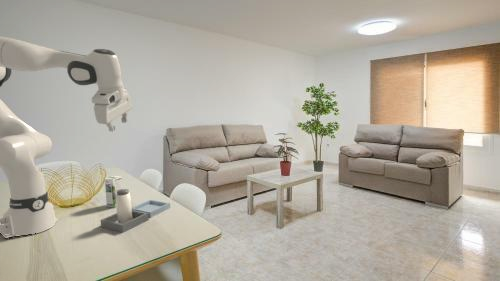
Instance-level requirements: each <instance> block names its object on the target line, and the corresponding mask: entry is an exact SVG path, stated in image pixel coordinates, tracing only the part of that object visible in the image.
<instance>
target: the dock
mask: <svg viewBox="0 0 500 281" xmlns="http://www.w3.org/2000/svg"><path fill="white" fill-rule="evenodd" d="M149 219H150V217H148V213H145V212H140V211H135V210H132V220H130V221H128V222H126V223H124V224H121V223H118V217H117V212H116V213H114V214H111V215H109V216H107V217H104V218H102V219H100V227H101V228H104V229H108V230H113V231H116V232H118V233H119V232H120V233H122V234H123V233H125V232H127V231H129V230H131V229H133V228H135V227H137V226H139V225H141V224H144V223H145V222H147V221H149Z"/></svg>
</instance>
